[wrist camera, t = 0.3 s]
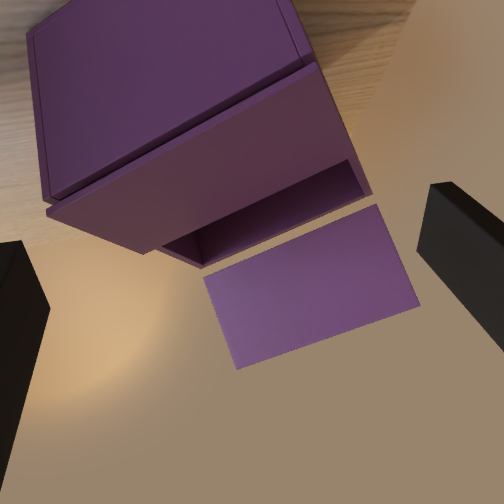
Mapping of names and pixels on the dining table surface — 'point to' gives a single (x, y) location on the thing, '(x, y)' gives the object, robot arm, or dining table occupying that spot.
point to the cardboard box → (186, 125)
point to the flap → (311, 288)
